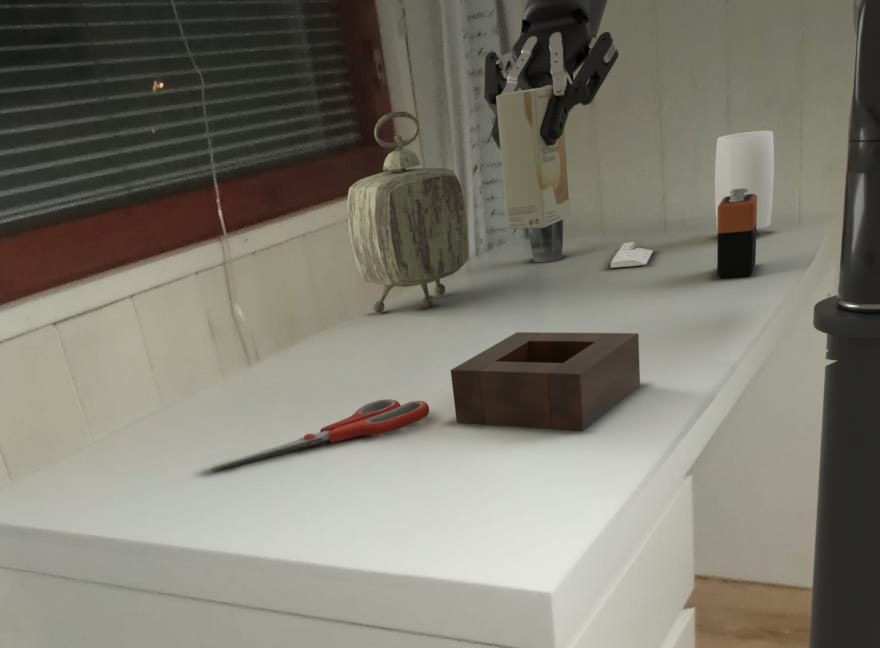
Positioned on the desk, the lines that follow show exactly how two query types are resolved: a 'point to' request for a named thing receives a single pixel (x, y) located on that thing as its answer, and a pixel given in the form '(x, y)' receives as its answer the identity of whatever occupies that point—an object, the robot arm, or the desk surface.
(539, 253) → the beverage cup
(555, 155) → the cosmetic box
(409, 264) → the tabletop clock
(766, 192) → the cup
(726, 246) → the battery
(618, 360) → the holder
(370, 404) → the scissors
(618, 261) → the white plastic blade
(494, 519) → the desk surface
